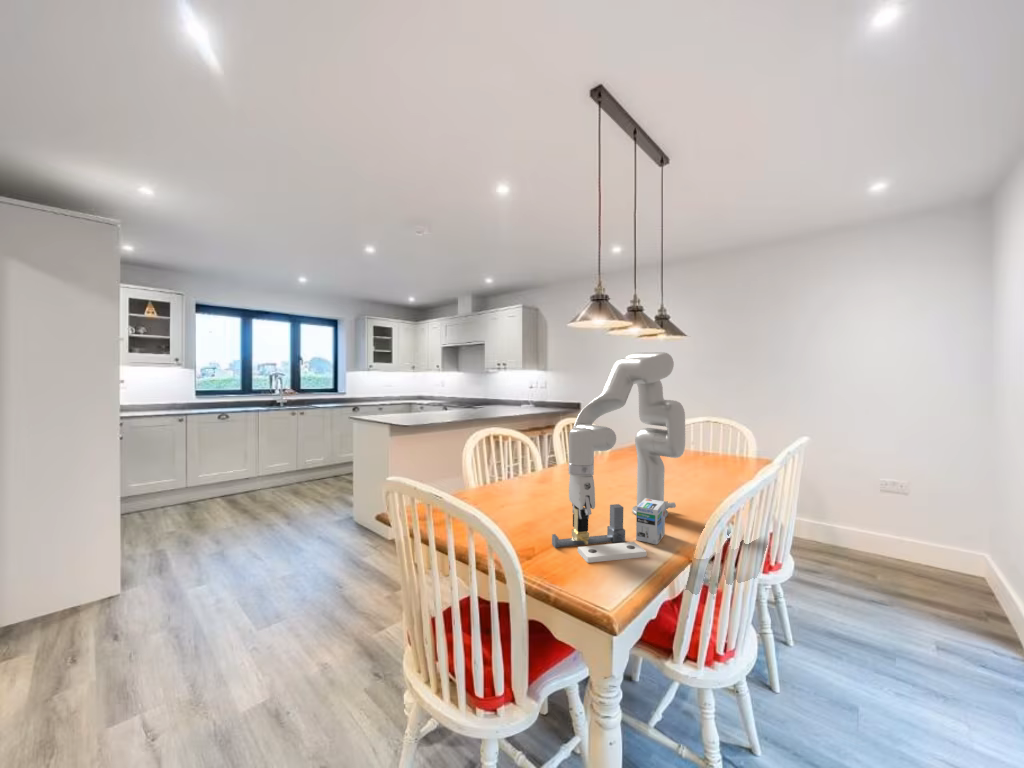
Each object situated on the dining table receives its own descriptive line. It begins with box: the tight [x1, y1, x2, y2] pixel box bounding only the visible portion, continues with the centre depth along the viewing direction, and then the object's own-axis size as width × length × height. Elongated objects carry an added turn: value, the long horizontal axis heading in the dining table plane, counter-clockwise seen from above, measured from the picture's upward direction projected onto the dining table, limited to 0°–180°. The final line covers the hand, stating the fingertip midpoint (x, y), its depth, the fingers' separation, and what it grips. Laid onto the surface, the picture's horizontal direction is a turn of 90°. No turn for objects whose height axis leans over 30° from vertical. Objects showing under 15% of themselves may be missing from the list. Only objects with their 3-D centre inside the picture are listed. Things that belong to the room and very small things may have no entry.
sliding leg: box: [571, 506, 590, 545], centre depth 128 cm, size 4×7×9 cm, turn 13°
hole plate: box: [577, 541, 647, 564], centre depth 122 cm, size 18×7×2 cm, turn 103°
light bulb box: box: [635, 498, 666, 546], centre depth 135 cm, size 11×7×11 cm, turn 148°
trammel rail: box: [551, 503, 626, 549], centre depth 128 cm, size 22×7×11 cm, turn 103°
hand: (580, 528), depth 129 cm, fingers closed on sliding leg, 3 cm apart
